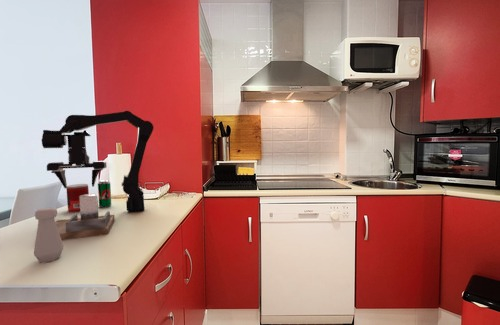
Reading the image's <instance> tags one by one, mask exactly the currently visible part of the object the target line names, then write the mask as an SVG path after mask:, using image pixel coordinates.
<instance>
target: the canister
mask: <svg viewBox="0 0 500 325" xmlns="http://www.w3.org/2000/svg"><path fill="white" fill-rule="evenodd" d="M79 213H80V218H81V220H91V219H99V216H100V215H99V198H98V193H91V194H90V193H89V194H86V195H81V196H80V211H79Z"/></svg>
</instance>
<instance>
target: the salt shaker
mask: <svg viewBox="0 0 500 325" xmlns="http://www.w3.org/2000/svg"><path fill="white" fill-rule="evenodd" d="M57 216H58V209H57V208H55V207H43V208H40V209H37V210H36V211H35V212H34V217H35V219H36V220H38V222H37V229H36V235H35V243H34V249H33V254H34V255H33V256H34V257H35V259H36V260H37V261H38V262H39V261H40V262H39V263H42V262H46V263H50V262H49V261H51V262H54V261H56V260H58V259H60V258H59V257H61V255H62V252H63V251H64V243H63V240H61V237H60V234H59V231H58V228H57V225H56V219H55V218H56V217H57ZM57 258H58V259H57ZM55 259H56V260H55ZM53 260H54V261H53Z"/></svg>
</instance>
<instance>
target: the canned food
mask: <svg viewBox="0 0 500 325" xmlns="http://www.w3.org/2000/svg"><path fill="white" fill-rule="evenodd" d="M65 189H66V202H67V210H68V211H69V212H70V213H76V212H80V196H81V195H86V194H90V193H89V184H87V183H77V184H69V185H67V188H65Z"/></svg>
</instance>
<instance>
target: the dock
mask: <svg viewBox="0 0 500 325" xmlns="http://www.w3.org/2000/svg"><path fill="white" fill-rule="evenodd" d="M115 218H116V217H115V213H113V214H111V211H109V210H108V211H106V213H105V214H103V215H99V219H91V220H81V217H78V214H77V213H75V214H73V215H72V216H71V217H69V218H63V219H62V218H61V219H55V222H56V225H57V228H58V231H59V234H60V237H61V240H62V241H63V240H71V239H74V240H75V239H79V238H88V237H96V236H97V237H98V236H104V235H109V233H110V231H111V229H112V227H113V225H114V222H115Z"/></svg>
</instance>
